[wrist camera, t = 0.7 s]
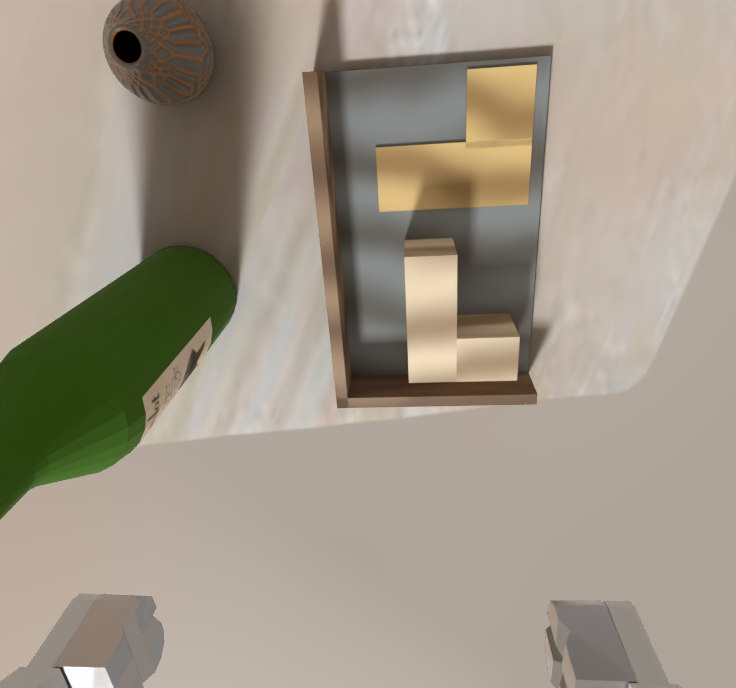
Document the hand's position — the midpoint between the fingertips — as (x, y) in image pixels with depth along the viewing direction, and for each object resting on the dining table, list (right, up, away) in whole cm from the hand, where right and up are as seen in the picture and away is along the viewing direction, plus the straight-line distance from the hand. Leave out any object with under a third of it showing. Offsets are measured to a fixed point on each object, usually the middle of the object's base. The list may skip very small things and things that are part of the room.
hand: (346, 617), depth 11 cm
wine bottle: (-16, +10, +38) cm, 43 cm away
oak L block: (+8, +10, +36) cm, 38 cm away
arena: (+6, +14, +35) cm, 38 cm away
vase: (-14, +28, +30) cm, 43 cm away
